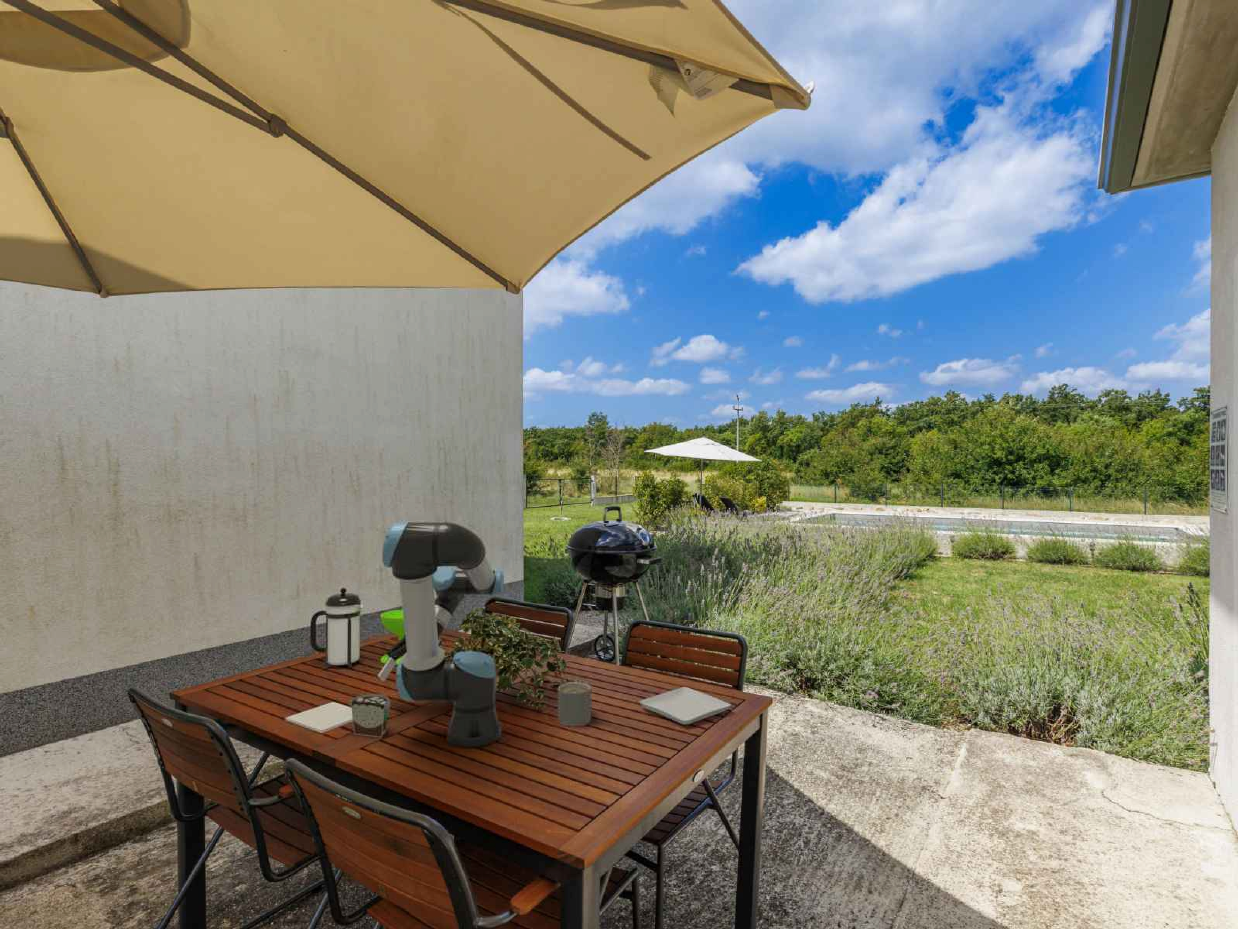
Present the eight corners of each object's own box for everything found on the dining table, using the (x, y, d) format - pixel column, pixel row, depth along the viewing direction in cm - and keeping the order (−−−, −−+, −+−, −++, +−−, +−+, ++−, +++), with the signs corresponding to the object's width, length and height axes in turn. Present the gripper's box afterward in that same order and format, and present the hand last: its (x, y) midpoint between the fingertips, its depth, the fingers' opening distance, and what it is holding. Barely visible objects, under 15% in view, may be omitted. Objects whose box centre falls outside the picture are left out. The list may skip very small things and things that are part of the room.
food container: (399, 730, 191) (399, 695, 191) (386, 738, 185) (386, 703, 185) (363, 725, 194) (363, 692, 194) (349, 733, 188) (349, 699, 188)
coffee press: (355, 656, 265) (355, 582, 266) (368, 665, 253) (369, 588, 253) (309, 664, 254) (310, 587, 254) (321, 674, 242) (321, 593, 242)
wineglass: (378, 655, 267) (378, 611, 267) (419, 651, 273) (419, 608, 274) (382, 666, 252) (382, 620, 252) (424, 661, 259) (425, 616, 259)
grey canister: (576, 729, 192) (576, 695, 192) (551, 721, 198) (551, 688, 198) (604, 715, 202) (604, 683, 203) (579, 708, 208) (579, 677, 208)
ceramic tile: (368, 715, 202) (368, 713, 202) (321, 733, 188) (321, 730, 188) (333, 704, 212) (333, 701, 212) (285, 720, 198) (285, 717, 198)
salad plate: (685, 731, 191) (685, 720, 191) (637, 710, 208) (637, 700, 208) (733, 714, 205) (733, 703, 205) (684, 696, 221) (684, 686, 221)
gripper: (468, 634, 205) (430, 696, 192) (414, 624, 219) (376, 681, 206) (455, 621, 201) (416, 683, 188) (401, 611, 214) (361, 669, 201)
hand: (395, 682), depth 197 cm, fingers open, 13 cm apart
